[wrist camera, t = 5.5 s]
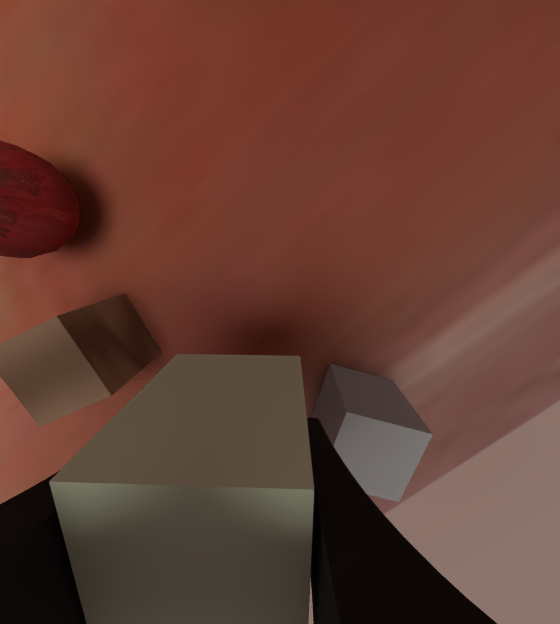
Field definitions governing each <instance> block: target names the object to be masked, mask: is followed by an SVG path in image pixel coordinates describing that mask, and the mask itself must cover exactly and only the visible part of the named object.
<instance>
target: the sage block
mask: <svg viewBox="0 0 560 624" xmlns="http://www.w3.org/2000/svg"><path fill="white" fill-rule="evenodd" d="M49 483H50V487H51V491H52V495H53V499H54V502H55V506H56V510H57V514H58V518H59V521H60V525H61V529H62V533H63V537H64V540H65V544H66V548H67V552H68V555H69V559H70V563H71V567H72V571H73V574H74V578H75V582H76V586H77V590H78V593H79V597H80V601H81V605H82V609H83V612H84V616H85V620H86V624H308V619H309V596H310V574H311V552H312V530H313V508H314V482H313V472H312V463H311V453H310V444H309V434H308V424H307V415H306V405H305V396H304V386H303V377H302V367H301V358H300V356H278V355H216V354H176V355H175V356H174V357H173V358H172V359H171V360H170V361H169V362H168V363H167V364H166V365H165V366H164V367H163V368H162V369H161V370H160V371H159V372H158V373H157V374H156V375H155V376H154V377H153V378H152V379H151V380H150V381H149V382H148V383H147V384H146V385H145V386H144V387H143V388H142V389H141V390H140V391H139V392H138V393H137V394H136V395H135V396H134V397H133V398H132V399H131V400H130V401H129V402H128V403H127V404H126V405H125V406H124V407H123V408H122V409H121V410H120V411H119V412H118V413H117V414H116V415H115V416H114V417H113V418H112V419H111V420H110V421H109V422H108V423H107V424H106V425H105V426H104V427H103V428H102V429H101V430H100V431H99V432H98V433H97V434H96V435H95V436H94V437H93V438H92V439H91V440H90V441H89V442H88V443H87V444H86V445H85V446H84V447H83V448H82V449H81V450H80V451H79V452H78V453H77V454H76V455H75V456H74V457H73V458H72V459H71V460H70V461H69V462H68V463H67V464H66V465H65V466H64V467H63V468H62V469H61V470H60V471H59V472H58V473H57V474H56V475H55V476H54V477H53V478H52V479H51V480H50V481H49Z"/></svg>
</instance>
